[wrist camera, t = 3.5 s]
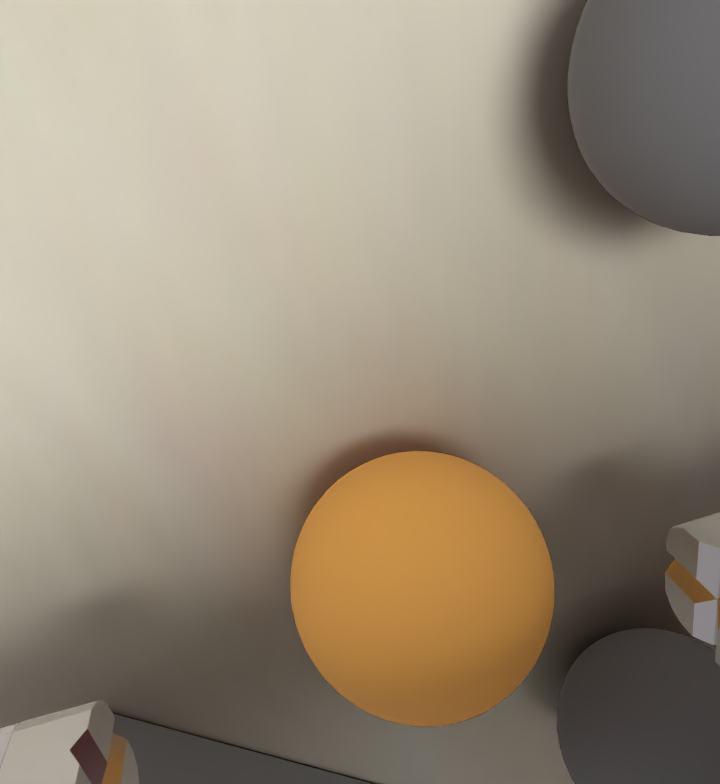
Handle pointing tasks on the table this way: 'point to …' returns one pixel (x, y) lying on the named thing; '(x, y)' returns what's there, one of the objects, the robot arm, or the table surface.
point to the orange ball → (422, 588)
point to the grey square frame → (209, 760)
